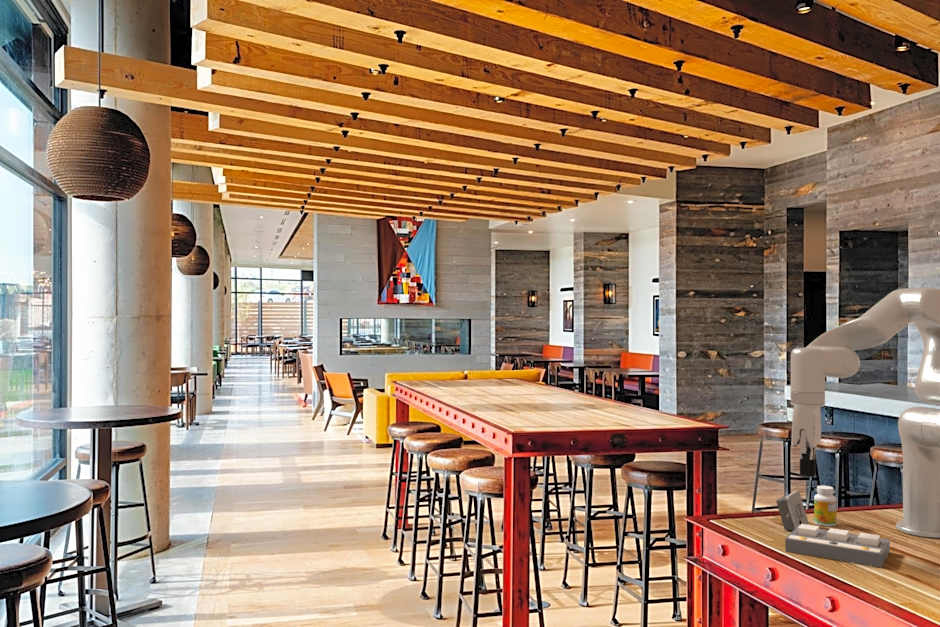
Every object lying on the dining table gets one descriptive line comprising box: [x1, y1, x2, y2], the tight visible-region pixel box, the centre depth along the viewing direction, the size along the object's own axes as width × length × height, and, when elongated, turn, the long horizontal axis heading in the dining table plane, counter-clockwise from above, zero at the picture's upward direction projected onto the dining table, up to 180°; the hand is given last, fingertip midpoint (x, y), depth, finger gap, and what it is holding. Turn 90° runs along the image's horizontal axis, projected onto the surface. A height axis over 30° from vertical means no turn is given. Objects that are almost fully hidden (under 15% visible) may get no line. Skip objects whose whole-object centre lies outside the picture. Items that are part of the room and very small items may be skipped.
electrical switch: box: [775, 490, 810, 531], centre depth 196 cm, size 9×5×9 cm, turn 141°
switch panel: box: [784, 526, 891, 568], centre depth 176 cm, size 13×20×3 cm, turn 54°
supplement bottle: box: [813, 485, 838, 527], centre depth 199 cm, size 5×5×10 cm
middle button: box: [827, 527, 850, 542], centre depth 177 cm, size 4×4×2 cm
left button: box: [798, 524, 820, 537], centre depth 181 cm, size 4×4×2 cm
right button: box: [858, 532, 881, 547], centre depth 173 cm, size 4×4×2 cm
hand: (807, 475), depth 181 cm, fingers closed
